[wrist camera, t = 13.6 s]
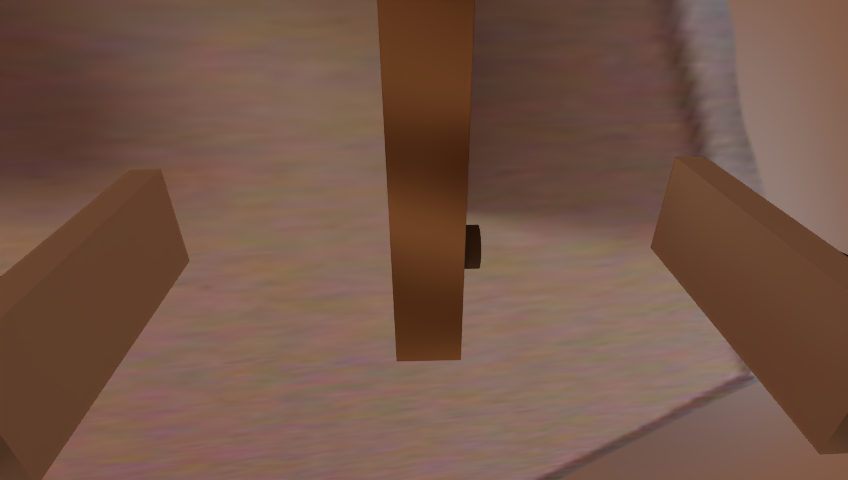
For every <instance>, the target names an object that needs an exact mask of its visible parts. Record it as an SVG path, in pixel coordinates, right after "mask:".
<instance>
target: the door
mask: <svg viewBox="0 0 848 480" xmlns="http://www.w3.org/2000/svg"><path fill="white" fill-rule="evenodd" d="M377 5H378V23H379V42H380V60H381V79H382V97H383V116H384V134H385V153H386V171H387V189H388V208H389V226H390V245H391V263H392V282H393V300H394V319H395V337H396V356H397V361H432V360H461V339H462V314H463V288H464V269H479V268H480V263H481V236H480V229H479V225H466V212H467V187H468V162H469V137H470V111H471V86H472V61H473V35H474V10H475V0H377Z"/></svg>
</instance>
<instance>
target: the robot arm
mask: <svg viewBox="0 0 848 480" xmlns="http://www.w3.org/2000/svg"><path fill="white" fill-rule="evenodd" d="M651 249H652V250H653V251H654V252H655V253H656V255H657V256H658V257H659V258H660V260H661V261H662V262H663V263H664V264H665V266H666V267H667V268H668V269H669V271H670V272H671V273H672V274H673V275H674V277H675V278H676V279H677V280H678V282H679V283H680V284H681V285H682V286H683V288H684V289H685V290H686V291H687V293H688V294H689V295H690V296H691V297H692V299H693V300H694V301H695V302H696V304H697V305H698V306H699V307H700V308H701V310H702V311H703V312H704V313H705V315H706V316H707V317H708V318H709V319H710V321H711V322H712V323H713V324H714V326H715V327H716V328H717V329H718V330H719V332H720V333H721V334H722V335H723V337H724V338H725V339H726V340H727V342H728V343H729V344H730V345H731V346H732V348H733V349H734V350H735V351H736V353H737V354H738V355H739V356H740V357H741V359H742V360H743V361H744V362H745V364H746V365H747V366H748V367H749V368H750V370H751V371H752V372H753V373H754V375H755V376H756V377H757V378H758V379H759V381H760V382H761V383H762V384H763V386H764V387H765V388H766V389H767V390H768V392H769V393H770V394H771V395H772V396H773V398H774V399H775V400H776V401H777V403H778V404H779V405H780V406H781V408H782V409H783V410H784V411H785V412H786V414H787V415H788V416H789V417H790V419H791V420H792V421H793V422H794V423H795V424H796V426H797V427H798V428H799V430H800V431H801V432H802V433H803V434H804V436H805V437H806V438H807V439H808V441H809V442H810V443H811V444H812V445H813V447H814V448H815V449H816V450H817V452H818V453H819V454H839V453H848V255H847V254H845V253H842V252H840V251H838V250H837V249H836V248H834V247H833V246H831V245H830V244H828V243H827V242H826V241H824V240H823V239H821V238H820V237H819V236H817V235H815V234H814V233H813V232H811V231H810V230H808V229H807V228H806V227H804V226H803V225H801V224H800V223H799V222H797V221H796V220H794V219H793V218H791V217H790V216H789V215H787V214H786V213H784V212H783V211H782V210H780V209H779V208H777V207H776V206H774V205H773V204H771V203H770V202H769V201H767V200H766V199H764V198H763V197H762V196H760V195H759V194H757V193H756V192H754V191H753V190H752V189H750V188H749V187H747V186H746V185H744V184H743V183H742V182H740V181H739V180H737V179H736V178H735V177H733V176H732V175H730V174H729V173H727V172H726V171H725V170H723V169H722V168H720V167H719V166H717V165H716V164H715V163H713V162H712V161H710V160H709V159H707V158H706V157H675V161H674V164H673V168H672V172H671V175H670V179H669V183H668V186H667V190H666V193H665V197H664V201H663V204H662V208H661V212H660V215H659V219H658V222H657V226H656V230H655V233H654V237H653V241H652V244H651ZM188 262H189V257H188V254H187V251H186V248H185V245H184V242H183V238H182V235H181V232H180V229H179V226H178V223H177V219H176V216H175V213H174V210H173V207H172V204H171V200H170V197H169V194H168V191H167V188H166V184H165V181H164V178H163V175H162V172H161V169H160V170H129V171H128V172H127V173H126V174H125V175H123V176H122V177H121V178H120V179H119V180H117V181H116V182H115V183H114V184H113V185H111V186H110V187H109V188H108V189H106V190H105V191H104V192H103V193H102V194H100V195H99V196H98V197H97V198H96V199H94V200H93V201H92V202H91V203H89V204H88V205H87V206H86V207H85V208H83V209H82V210H81V211H80V212H79V213H77V214H76V215H75V216H74V217H72V218H71V219H70V220H69V221H68V222H66V223H65V224H64V225H63V226H62V227H60V228H59V229H58V230H57V231H56V232H54V233H53V234H52V235H51V236H49V237H48V238H47V239H46V240H45V241H43V242H42V243H41V244H40V245H39V246H37V247H36V248H35V249H34V250H32V251H31V252H30V253H29V254H28V255H26V256H25V257H24V258H23V259H22V260H20V261H19V262H18V263H17V264H15V265H14V266H13V267H12V268H11V269H9V270H8V271H7V272H6V273H5V274H3V275H2V276H0V480H42V478H43V477H44V475H45V474H46V472H47V471H48V469H49V468H50V466H51V465H52V463H53V462H54V460H55V459H56V457H57V456H58V454H59V453H60V451H61V450H62V449H63V447H64V446H65V444H66V443H67V441H68V440H69V438H70V437H71V435H72V434H73V432H74V431H75V429H76V428H77V426H78V425H79V423H80V422H81V420H82V419H83V417H84V416H85V414H86V413H87V412H88V410H89V409H90V407H91V406H92V404H93V403H94V401H95V400H96V398H97V397H98V395H99V394H100V392H101V391H102V389H103V388H104V386H105V385H106V383H107V382H108V380H109V379H110V378H111V376H112V375H113V373H114V372H115V370H116V369H117V367H118V366H119V364H120V363H121V361H122V360H123V358H124V357H125V355H126V354H127V352H128V351H129V349H130V348H131V346H132V345H133V344H134V342H135V341H136V339H137V338H138V336H139V335H140V333H141V332H142V330H143V329H144V327H145V326H146V324H147V323H148V321H149V320H150V318H151V317H152V315H153V314H154V312H155V311H156V310H157V308H158V307H159V305H160V304H161V302H162V301H163V299H164V298H165V296H166V295H167V293H168V292H169V290H170V289H171V287H172V286H173V284H174V283H175V281H176V280H177V278H178V277H179V276H180V274H181V273H182V271H183V270H184V268H185V267H186V265H187V264H188Z"/></svg>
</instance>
